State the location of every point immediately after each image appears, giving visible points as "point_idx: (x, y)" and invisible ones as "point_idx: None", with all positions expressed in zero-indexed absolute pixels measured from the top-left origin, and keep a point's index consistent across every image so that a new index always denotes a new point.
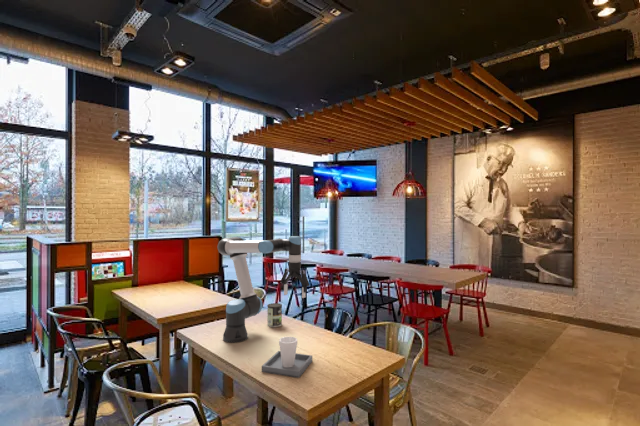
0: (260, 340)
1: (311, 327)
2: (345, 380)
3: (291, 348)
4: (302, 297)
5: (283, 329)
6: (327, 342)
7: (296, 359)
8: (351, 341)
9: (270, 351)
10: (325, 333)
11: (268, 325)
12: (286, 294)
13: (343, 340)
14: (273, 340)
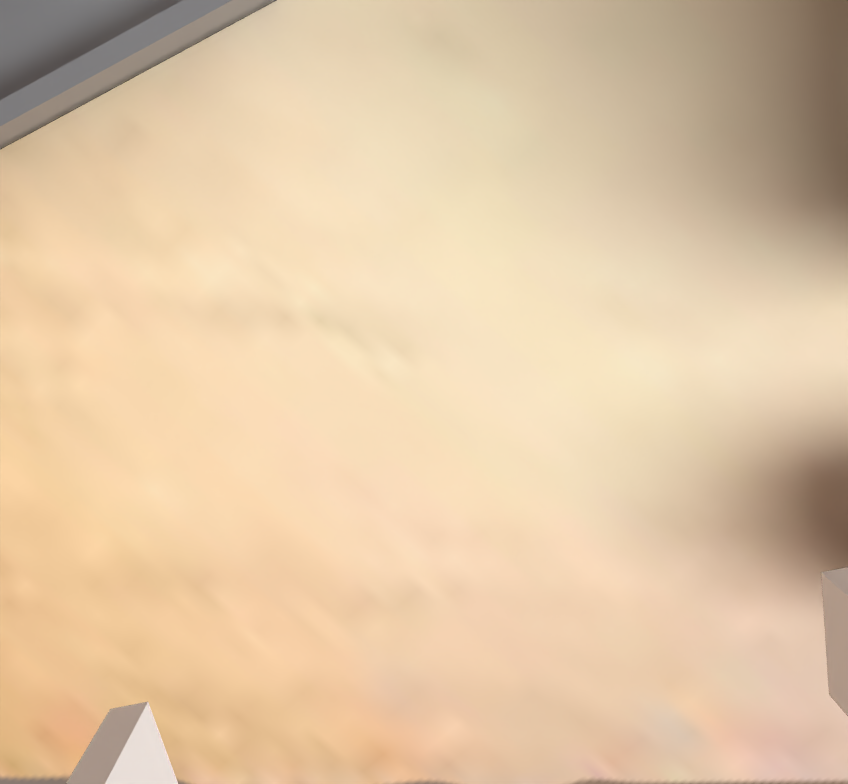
0: (764, 150)
1: (614, 751)
2: None
3: None
4: (124, 720)
5: (799, 535)
6: (215, 593)
7: (47, 54)
8: None
9: (440, 22)
10: (398, 732)
11: None
12: (829, 649)
13: None
14: (651, 255)
